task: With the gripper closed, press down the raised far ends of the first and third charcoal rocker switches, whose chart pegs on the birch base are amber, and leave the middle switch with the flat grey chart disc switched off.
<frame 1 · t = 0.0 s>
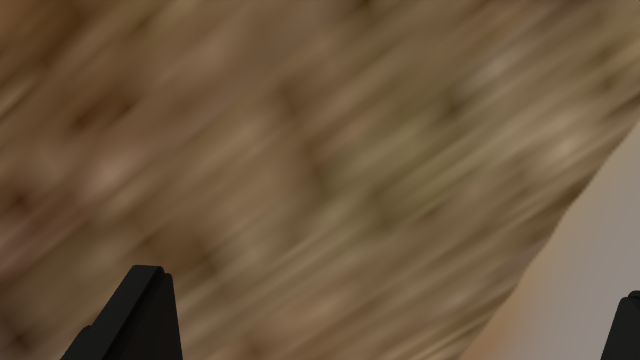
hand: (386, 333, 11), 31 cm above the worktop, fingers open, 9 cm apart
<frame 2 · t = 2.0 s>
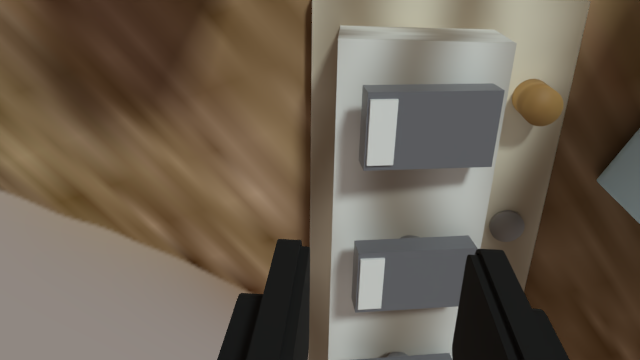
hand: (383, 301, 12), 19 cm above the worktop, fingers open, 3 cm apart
switch unit: (421, 212, 32), on the worktop
rocker b: (410, 271, 27), point 6 cm above the worktop, hinge at -10.0°
rocker a: (427, 125, 23), point 6 cm above the worktop, hinge at -10.0°
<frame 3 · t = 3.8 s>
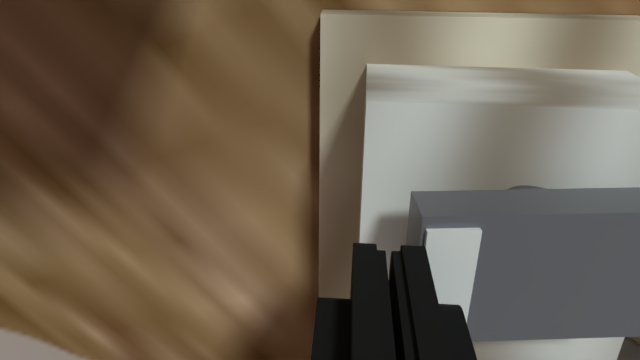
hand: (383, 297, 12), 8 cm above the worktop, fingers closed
switch unit: (483, 330, 22), on the worktop
rocker a: (527, 260, 13), point 6 cm above the worktop, hinge at -7.8°, touching gripper
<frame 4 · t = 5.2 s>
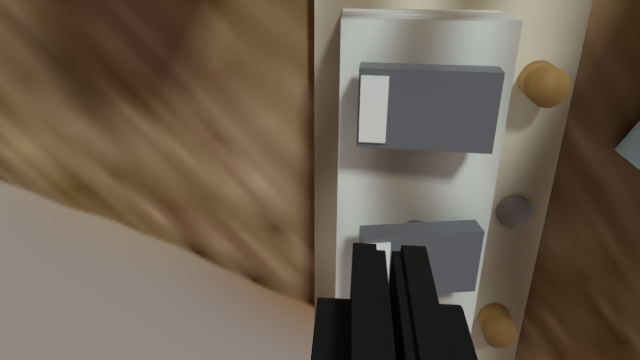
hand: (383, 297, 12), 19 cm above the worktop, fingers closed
switch unit: (427, 199, 32), on the worktop
rocker b: (417, 256, 26), point 6 cm above the worktop, hinge at -10.0°
rocker a: (425, 106, 23), point 6 cm above the worktop, hinge at 4.0°
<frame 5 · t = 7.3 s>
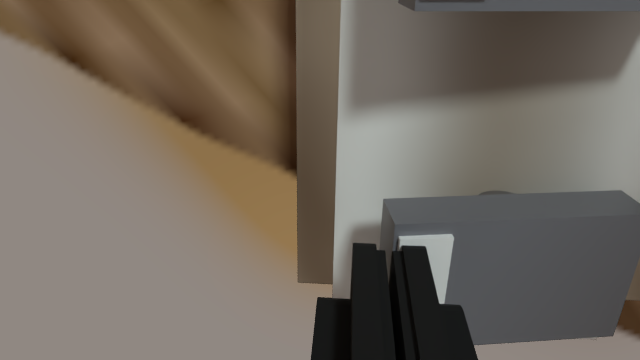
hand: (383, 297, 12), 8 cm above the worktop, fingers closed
rocker c: (499, 264, 13), point 6 cm above the worktop, hinge at -9.7°, touching gripper
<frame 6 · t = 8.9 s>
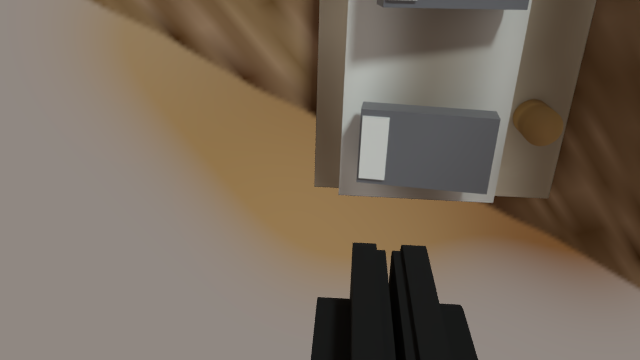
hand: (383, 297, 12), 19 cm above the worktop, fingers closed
rocker c: (424, 145, 24), point 6 cm above the worktop, hinge at 5.9°
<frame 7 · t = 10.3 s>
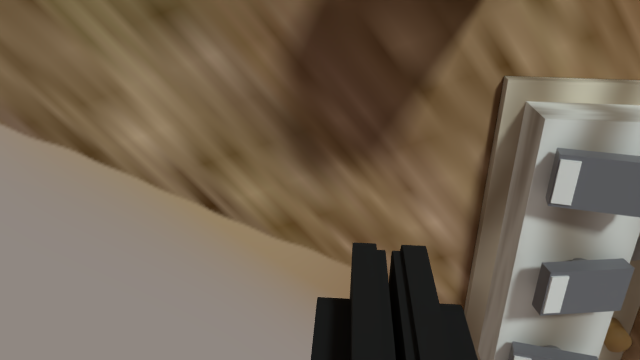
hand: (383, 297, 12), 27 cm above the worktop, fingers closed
switch unit: (564, 237, 42), on the worktop
rocker b: (579, 284, 36), point 6 cm above the worktop, hinge at -10.0°
rocker a: (602, 181, 32), point 6 cm above the worktop, hinge at 11.1°
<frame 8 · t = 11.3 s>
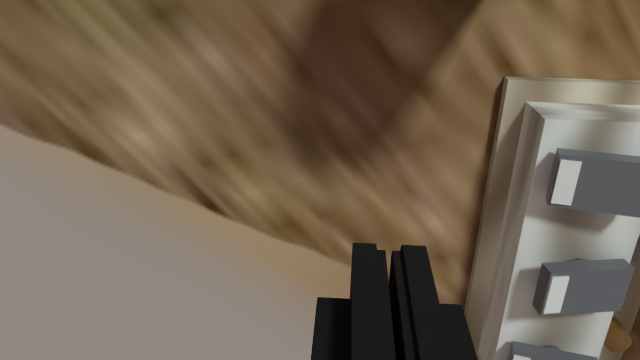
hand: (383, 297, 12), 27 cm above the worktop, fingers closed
switch unit: (564, 237, 42), on the worktop
rocker b: (580, 285, 36), point 6 cm above the worktop, hinge at -10.0°
rocker a: (602, 181, 32), point 6 cm above the worktop, hinge at 11.3°
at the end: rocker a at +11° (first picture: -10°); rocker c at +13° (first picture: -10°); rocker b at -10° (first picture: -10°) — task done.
